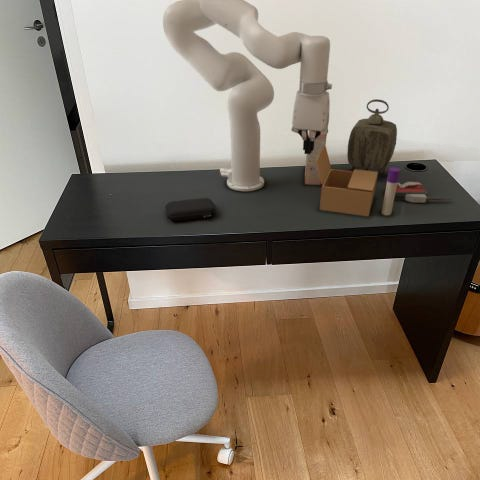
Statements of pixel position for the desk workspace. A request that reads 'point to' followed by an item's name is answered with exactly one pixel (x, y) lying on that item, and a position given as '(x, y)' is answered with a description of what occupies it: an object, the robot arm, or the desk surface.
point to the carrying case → (190, 209)
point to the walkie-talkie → (414, 193)
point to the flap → (323, 164)
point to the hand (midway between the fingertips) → (308, 152)
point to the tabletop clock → (372, 142)
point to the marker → (390, 190)
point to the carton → (348, 191)
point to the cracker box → (311, 167)
